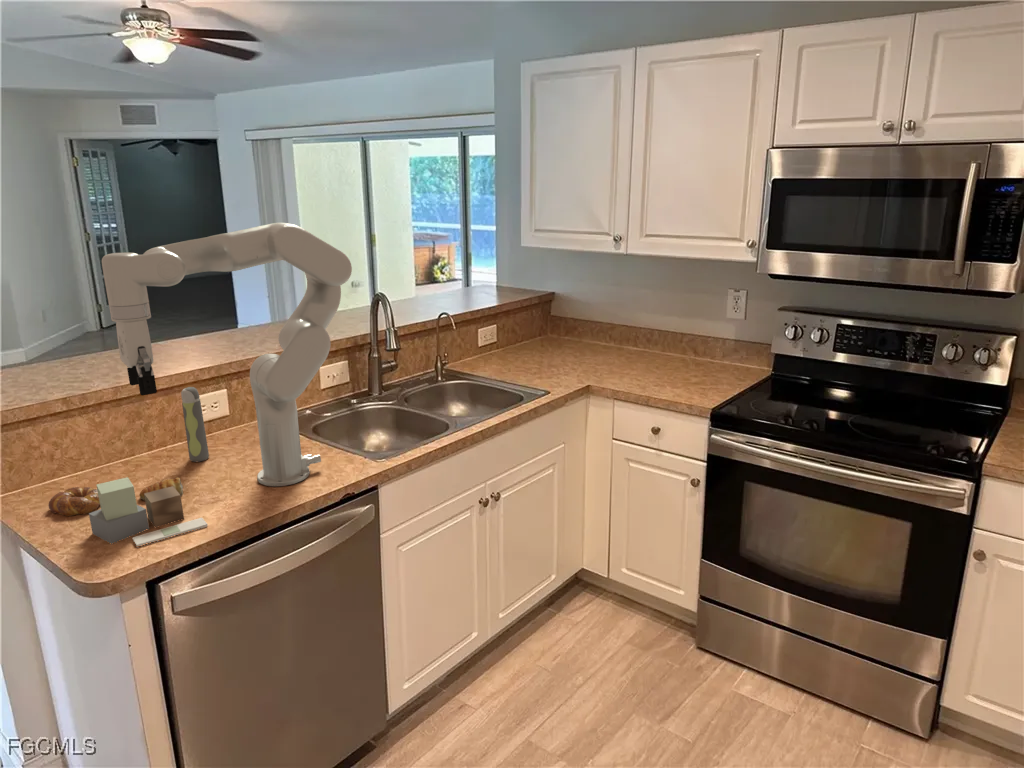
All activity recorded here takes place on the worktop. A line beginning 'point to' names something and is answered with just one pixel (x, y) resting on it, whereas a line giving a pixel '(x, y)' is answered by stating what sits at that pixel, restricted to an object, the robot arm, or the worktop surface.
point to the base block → (118, 525)
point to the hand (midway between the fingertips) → (143, 388)
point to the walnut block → (164, 506)
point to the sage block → (117, 498)
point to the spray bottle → (194, 425)
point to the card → (169, 531)
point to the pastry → (163, 486)
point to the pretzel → (75, 501)
